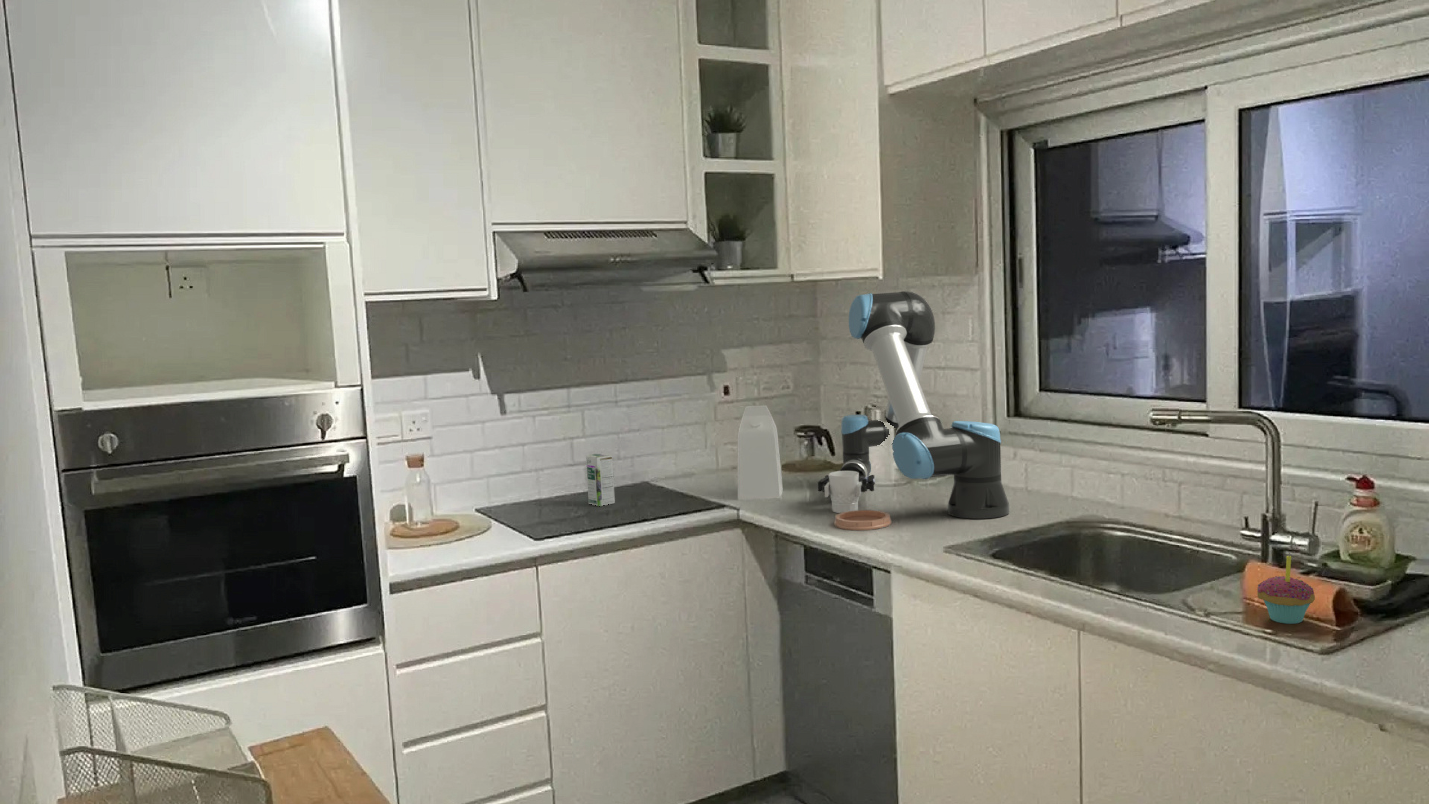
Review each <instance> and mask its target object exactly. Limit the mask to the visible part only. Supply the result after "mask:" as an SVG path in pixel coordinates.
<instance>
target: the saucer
mask: <svg viewBox="0 0 1429 804" xmlns="http://www.w3.org/2000/svg"><path fill="white" fill-rule="evenodd" d="M833 522H834V523H833V524H834V527H836V528H838V529H841V530H847V531H872V530H871V529H874V530H878V529H877V528H881V529H883V528H882V527H885V528H888V527H889V525H890V524H891V525H892V518H891V516H890V513H889V512H887V511H882V510H872V509H861V510H860V509H858V510H855V511H848V512H842V513H837V514H835V519H834V521H833ZM891 525H890V526H891ZM887 526H888V527H887Z"/></svg>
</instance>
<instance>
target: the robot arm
mask: <svg viewBox="0 0 1429 804" xmlns="http://www.w3.org/2000/svg"><path fill="white" fill-rule="evenodd" d="M848 329H849V333H850V335H851V337H852V338H854V339H855V340H860V339H861V340H862V343H863V346H864V348H865V349H866V350H868V351H870V352H872V354H873V357H874V360H875V363H876V365H877V368H878V371H879V373H880V377H881V379H882V382H883V385H884V388H885V391H886V393H887V396H888V400H887V405H886V410H885V413H886V414H884V418H886V420H887V422H888V423H890V425H892V426H894V428H897V430H896V436H895V438H894V440H893V443H892V444H891V449H892V451H893V452H892V455H893V460H894V463H895V465H896V467H897V468H898V471H900V473H901V474H902V475H903V476H904V477H907V478H909V479H911V480H919V479H921V480H922V479H923V480H927V479H930V478H939V477H945V476H953V485H952V488H951V492H950V496H949V498H948V503H947V514H948V515H950V516H953V517H957V518H962V519H973V520H974V519H977V520H979V519H980V520H981V519H984V520H985V519H995V518H1001V517H1005V516H1008V514H1010V503H1009V502H1010V501H1009V499H1008V497H1007V494H1006V491H1005V489H1004V488H1005V487H1004V486H1003V482H1002V460H1001V459H1002V455H1001V454H1002V453H1001V452H1002V451H1001V444H1002V441H1001V433H1000V427H998V426H997V425H996V424H993V423H988V422H979V421H973V420H972V421H968V420H954V421H953V422H951V425H950V428H949V427H948V428H945V427H943V425H942V421H941V419H940V418H939V417H938V416H935V415H932V412H931V409H930V407H929V405H928V402H927V399H926V396H925V394H924V391H923V388H922V386H921V383H920V382H921V377H922V373H923V368H924V365H925V359H926V355H927V351H928V346H930V345H931V344H932V343H933V341H934V337H935V333H936V321H935V316H934V313H933V310H932V307H931V306H930V304H929V302H928V301H926V300H925V298H923V296H921V295H919V294H918V293H916V292H913V291H908V290H907V291H906V290H905V291H895V292H884V293H883V292H881V293H871V292H868V293H866V294H859V295H856V296H855V297H854V299H853V300H852V301H851V305H850V307H849V313H848ZM878 420H879V419H872V420H869V419H868V416H867V415H865V414H849V415H845V416H843V417H842V418H841V441H842V442H841V444H842V464H843V465H842V467H841V468H840V469H839V471H856V472H858V473H859V483H858V485H857V486H856V492H857V497H859V498H860V497H861V495H862V494H863V493H865V492H867V491H871V492H874V491H875V484H876V482H875V481H876V480H875V479H876V478H875V474H871V471H872V465H871V464H872V463H871V462H870V447H871V448H873V447H878V446H877V445H880V444H881V443H882V442H883V441H885V439H887V438H886V437H888V435H890V434H889V429H887V427H885V425H884V423H883V422H881V421H878ZM870 474H871V475H870ZM817 491H818V492H822V493H824V498H828V497H829V496H831V494H830V484H829V474H828V475H827V474H826V475H824V477H823V478H821V479H820V480H818V481H817Z"/></svg>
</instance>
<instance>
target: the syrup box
mask: <svg viewBox="0 0 1429 804" xmlns="http://www.w3.org/2000/svg"><path fill="white" fill-rule="evenodd" d="M585 460H586V461H585V463H586V474H587V475H586V478H587V479H586V481H587V493H588V494H587V496H588V505H589V504H592V505H591V506H595V505H596V507H599V506H600V507H604V506H603V505H605V506H609V505H611V504H615V503H616V497H615V485H614V484H615V482H614V480H615V479H614V468H613V467H614V463H613V454H607V453H591V454H587V455H585ZM608 504H609V505H608Z"/></svg>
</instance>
